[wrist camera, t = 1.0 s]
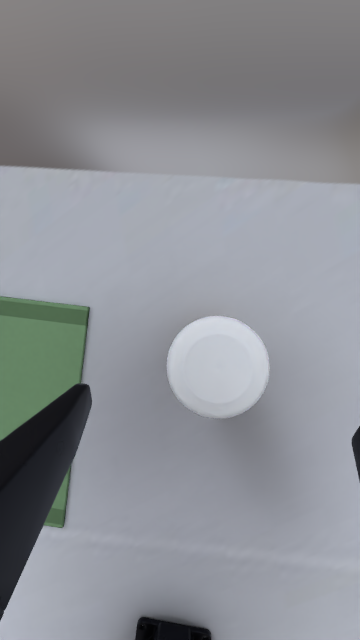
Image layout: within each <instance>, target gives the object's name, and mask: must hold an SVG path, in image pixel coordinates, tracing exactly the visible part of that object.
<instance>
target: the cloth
mask: <svg viewBox="0 0 360 640" xmlns="http://www.w3.org/2000/svg"><path fill="white" fill-rule="evenodd" d="M88 316H89V307H84V306H76V305H67V304H59V303H51V302H42V301H34V300H25V299H17V298H8V297H0V441H1V440H2V439H3V438H5V437H6V436H7V435H9V434H10V433H11V432H13V431H14V430H15V429H17V428H18V427H19V426H21V425H22V424H23V423H25V422H26V421H27V420H29V419H30V418H31V417H33V416H34V415H35V414H37V413H38V412H39V411H41V410H42V409H43V408H45V407H46V406H47V405H49V404H50V403H51V402H52V401H54V400H55V399H56V398H58V397H59V396H60V395H62V394H63V393H64V392H66V391H67V390H68V389H70V388H71V387H72V386H74V385H75V384H77V383H81V376H82V367H83V359H84V350H85V342H86V333H87V325H88ZM70 469H71V465H70V467H69V469H68V472H67V474H66V476H65V478H64V480H63V483H62V485H61V487H60V489H59V492H58V494H57V496H56V498H55V500H54V503H53V505H52V507H51V509H50V512H49V514H48V516H47V518H46V520H45V523H44V525H46V526H52V527H58V528H62V527H63V526H64V520H65V512H66V503H67V495H68V486H69V478H70Z"/></svg>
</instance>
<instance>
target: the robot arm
mask: <svg viewBox="0 0 360 640" xmlns="http://www.w3.org/2000/svg"><path fill="white" fill-rule="evenodd" d="M91 405H92V398H91V392H90V386H89V385H87V384H81V383H77V384H75V385H74V386H72V387H71V388H70V389H68V390H67V391H66V392H64V393H63V394H62V395H60V396H59V397H58V398H56V399H55V400H54V401H52V402H51V403H50V404H49V405H47V406H46V407H45V408H43V409H42V410H41V411H39V412H38V413H37V414H35V415H34V416H33V417H31V418H30V419H29V420H27V421H26V422H25V423H23V424H22V425H21V426H19V427H18V428H17V429H15V430H14V431H13V432H11V433H10V434H9V435H7V436H6V437H5V438H3V439H2V440H1V441H0V620H1V618H2V616H3V614H4V610H5V609H6V607H7V605H8V602H9V600H10V598H11V596H12V593H13V591H14V589H15V587H16V585H17V582H18V580H19V578H20V576H21V574H22V571H23V569H24V567H25V565H26V562H27V560H28V558H29V556H30V554H31V551H32V549H33V547H34V545H35V543H36V540H37V538H38V536H39V534H40V531H41V529H42V527H43V525H44V523H45V520H46V518H47V516H48V514H49V512H50V509H51V507H52V505H53V503H54V500H55V498H56V496H57V494H58V492H59V489H60V487H61V485H62V483H63V480H64V478H65V476H66V474H67V472H68V469H69V467H70V465H71V463H72V461H73V458H74V456H75V454H76V451H77V449H78V446H79V443H80V440H81V437H82V434H83V431H84V428H85V425H86V422H87V418H88V415H89V412H90V409H91ZM352 447H353V452H354V457H355V462H356V466H357V471H358V476H359V481H360V426H359V428H358V429H357V431H356V432H355V434H354V436H353V438H352ZM142 625H144V626H142ZM135 640H211V633H210V631H209V630H208V629H204V628H199V627H193V626H188V625H182V624H177V623H172V622H166V621H161V620H155V619H150V618H145V617H142V618H140V619H139V620H138V624H137V630H136V639H135Z"/></svg>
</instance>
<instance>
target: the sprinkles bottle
mask: <svg viewBox="0 0 360 640" xmlns="http://www.w3.org/2000/svg"><path fill="white" fill-rule="evenodd" d="M269 373H270V362H269V356H268V353H267V350H266V347H265V345H264V343H263V341H262V340H261V338H260V337H259V336H258V335H257V333H256V332H255V331H254V330H253V329H252V328H250V327H249V326H248V325H246V324H245V323H243V322H241V321H239V320H237V319H234V318H231V317H226V316H207V317H203V318H200V319H197V320H195V321H193V322H191V323H190V324H188V325H187V326H186V327H184V328H183V329H182V330H181V331H180V332H179V333H178V335H177V336H176V337H175V339H174V341H173V343H172V344H171V347H170V349H169V352H168V356H167V377H168V381H169V384H170V387H171V389H172V391H173V393H174V395H175V396H176V397H177V399H178V400H179V401H180V402H181V403H182V404H183V405H184V406H185V407H186V408H187V409H189V410H190V411H192V412H194V413H196V414H198V415H200V416H203V417H207V418H213V419H225V418H231V417H234V416H237V415H240V414H242V413H244V412H245V411H247V410H248V409H250V408H251V407H252V406H253V405H254V404H255V403H256V402H257V401H258V400H259V399H260V397H261V396H262V394H263V393H264V391H265V389H266V386H267V383H268V380H269Z"/></svg>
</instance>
